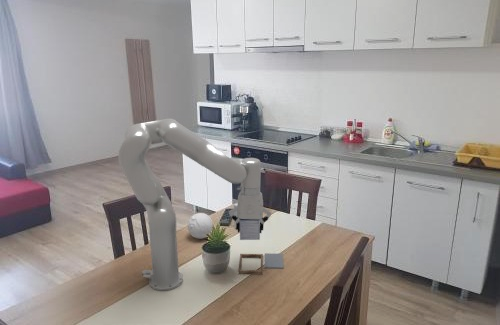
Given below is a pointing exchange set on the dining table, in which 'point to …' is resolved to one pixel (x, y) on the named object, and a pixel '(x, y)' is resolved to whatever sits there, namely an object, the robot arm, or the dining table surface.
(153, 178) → the robot arm
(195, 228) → the decorative ball
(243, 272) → the wooden frame
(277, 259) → the rubber mat
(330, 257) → the dining table surface
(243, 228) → the medicine box
